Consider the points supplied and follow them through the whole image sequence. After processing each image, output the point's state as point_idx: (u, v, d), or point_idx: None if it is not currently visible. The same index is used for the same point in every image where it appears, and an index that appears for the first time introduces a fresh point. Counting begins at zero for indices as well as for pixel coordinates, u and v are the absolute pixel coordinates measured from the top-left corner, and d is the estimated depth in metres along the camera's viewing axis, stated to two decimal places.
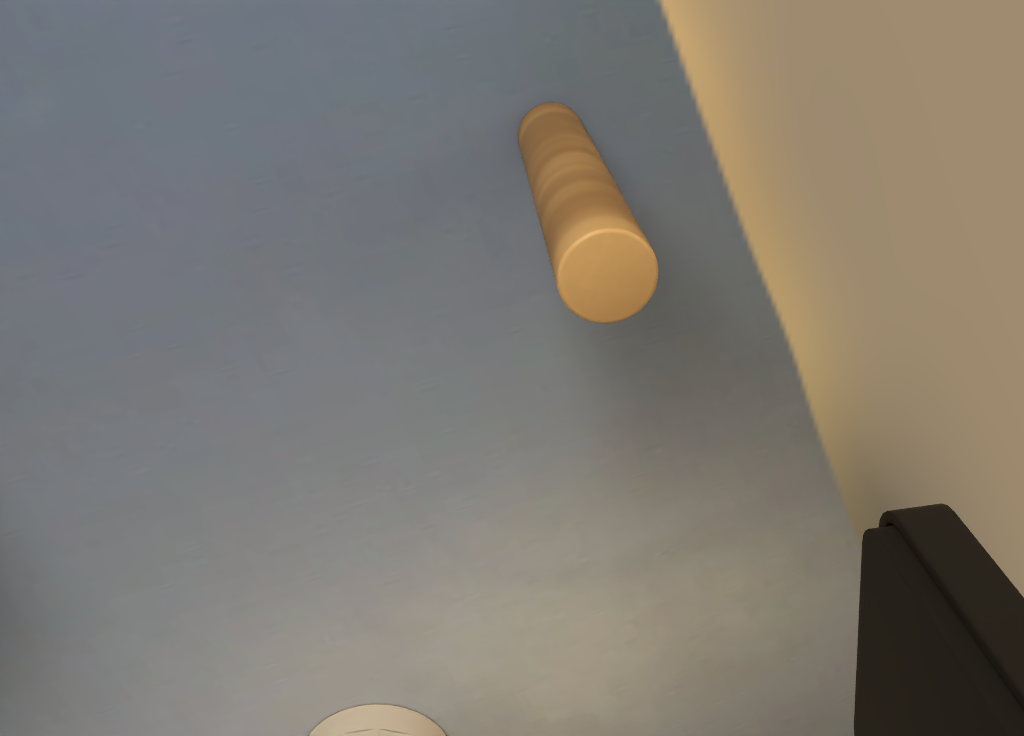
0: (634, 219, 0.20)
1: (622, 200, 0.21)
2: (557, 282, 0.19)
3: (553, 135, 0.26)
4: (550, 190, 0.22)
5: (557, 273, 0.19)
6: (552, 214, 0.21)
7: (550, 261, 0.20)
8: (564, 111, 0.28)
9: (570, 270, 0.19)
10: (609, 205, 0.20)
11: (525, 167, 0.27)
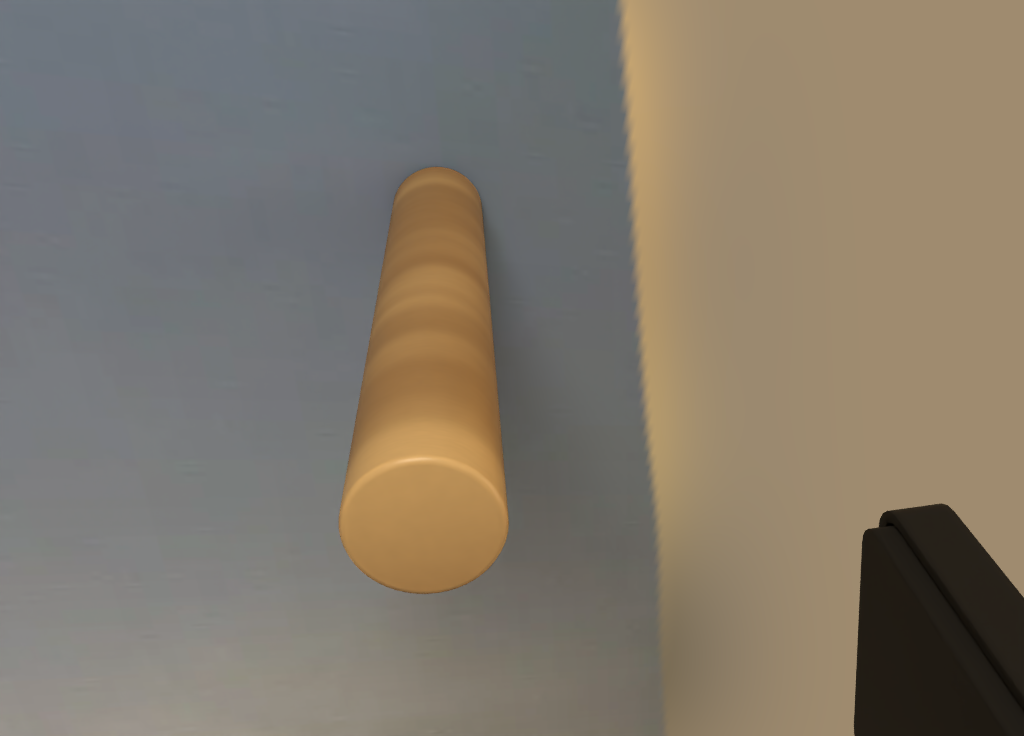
0: (496, 429, 0.13)
1: (489, 382, 0.14)
2: (340, 513, 0.11)
3: (432, 226, 0.18)
4: (392, 326, 0.14)
5: (343, 501, 0.11)
6: (377, 375, 0.13)
7: None
8: (462, 188, 0.21)
9: (365, 502, 0.11)
10: (465, 399, 0.12)
11: None
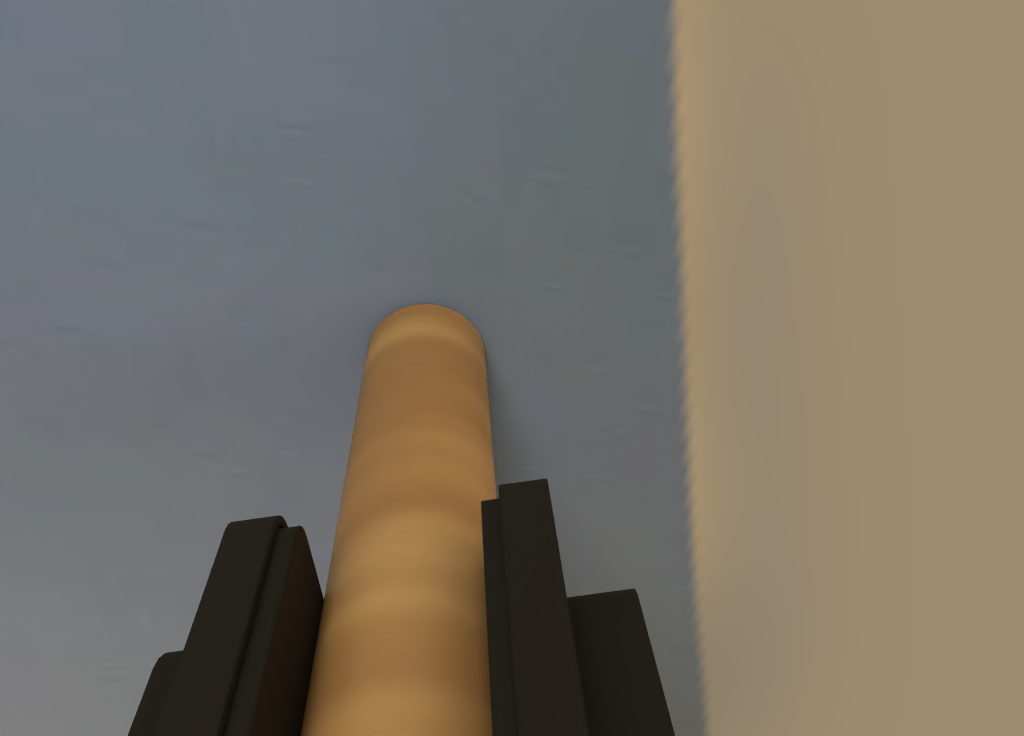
0: None
1: None
2: None
3: (416, 423, 0.13)
4: (346, 655, 0.09)
5: None
6: None
7: None
8: (459, 338, 0.15)
9: None
10: None
11: None
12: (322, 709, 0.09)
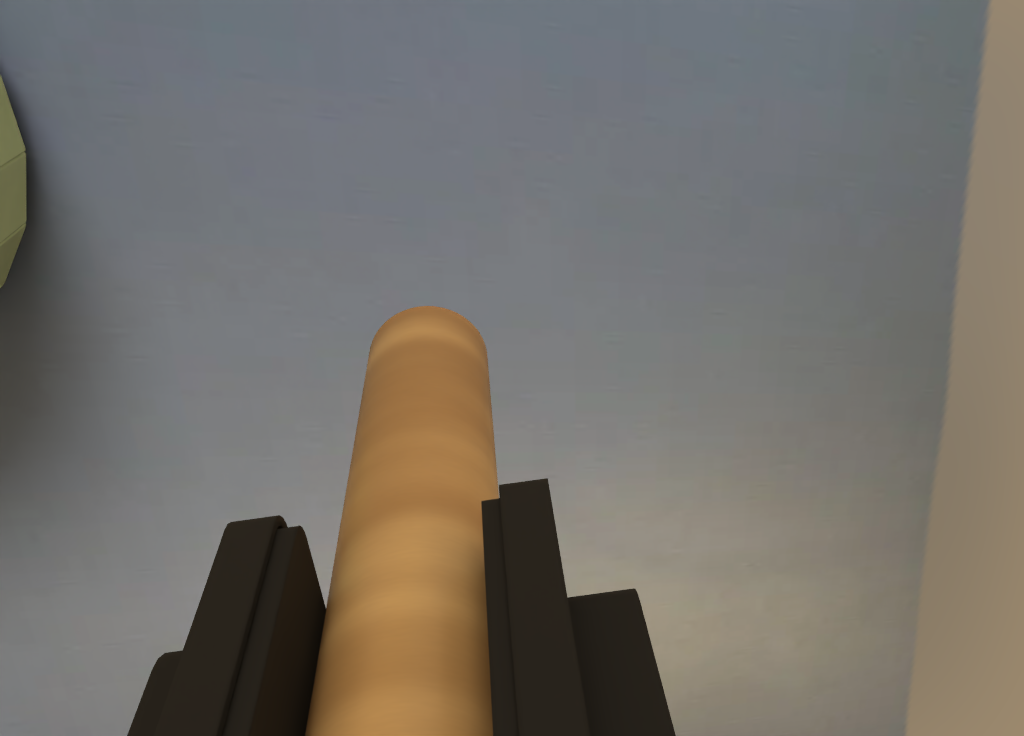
0: None
1: None
2: None
3: (418, 425, 0.13)
4: (350, 658, 0.09)
5: None
6: None
7: None
8: (461, 340, 0.15)
9: None
10: None
11: (353, 447, 0.14)
12: (326, 712, 0.09)
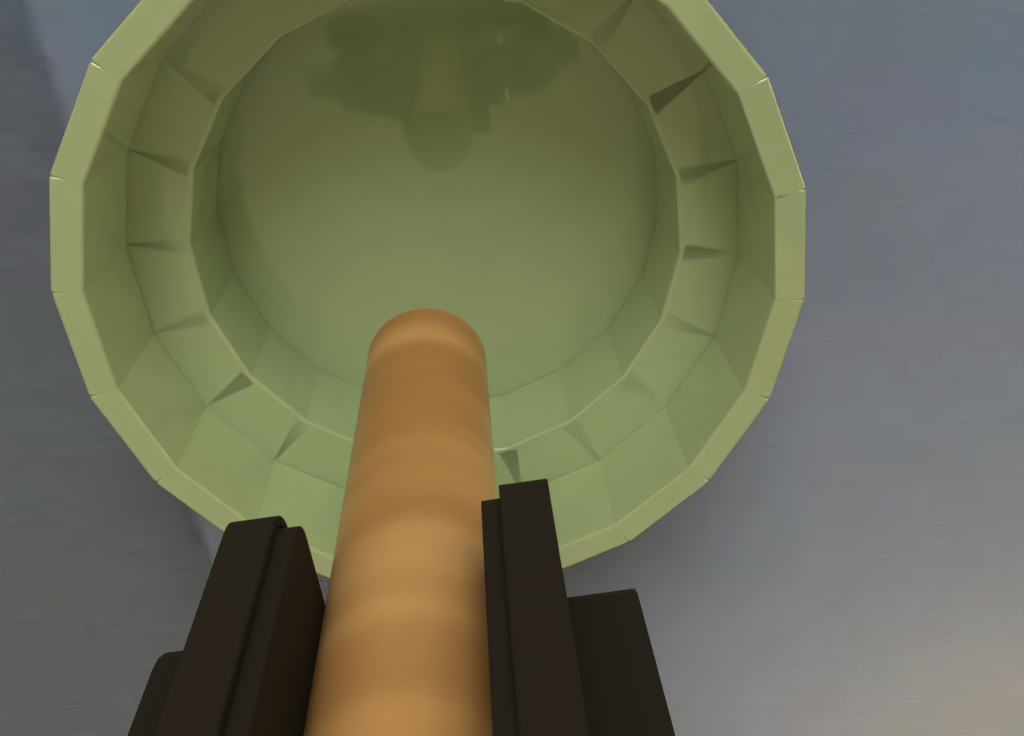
0: None
1: None
2: None
3: (417, 428, 0.13)
4: (348, 663, 0.09)
5: None
6: None
7: None
8: (459, 343, 0.15)
9: None
10: None
11: None
12: (323, 717, 0.09)
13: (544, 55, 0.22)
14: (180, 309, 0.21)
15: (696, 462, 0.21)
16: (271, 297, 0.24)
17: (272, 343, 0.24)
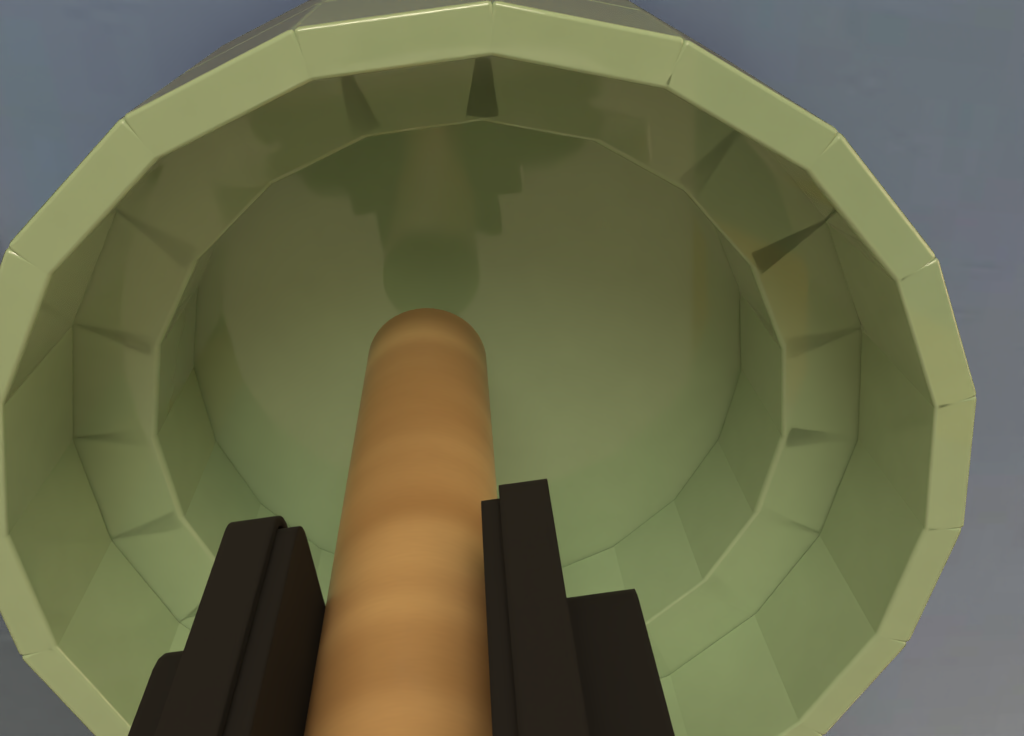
0: None
1: None
2: None
3: (417, 428, 0.13)
4: (348, 662, 0.09)
5: None
6: None
7: None
8: (460, 342, 0.15)
9: None
10: None
11: (352, 450, 0.14)
12: (324, 716, 0.09)
13: (607, 182, 0.17)
14: (145, 512, 0.17)
15: (809, 716, 0.16)
16: (262, 468, 0.20)
17: None
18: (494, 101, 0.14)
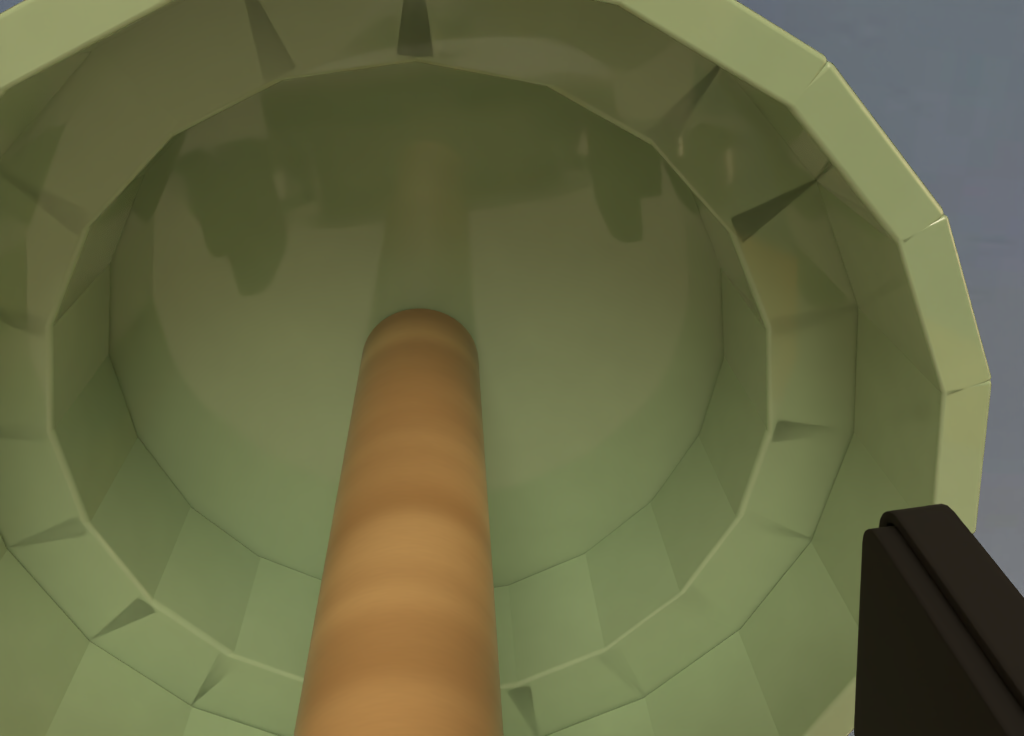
0: None
1: None
2: None
3: (409, 425, 0.13)
4: (339, 651, 0.09)
5: None
6: None
7: None
8: (452, 342, 0.16)
9: None
10: None
11: (345, 447, 0.14)
12: (316, 702, 0.09)
13: (570, 144, 0.15)
14: (44, 516, 0.15)
15: None
16: (191, 467, 0.18)
17: (192, 532, 0.17)
18: (429, 38, 0.12)
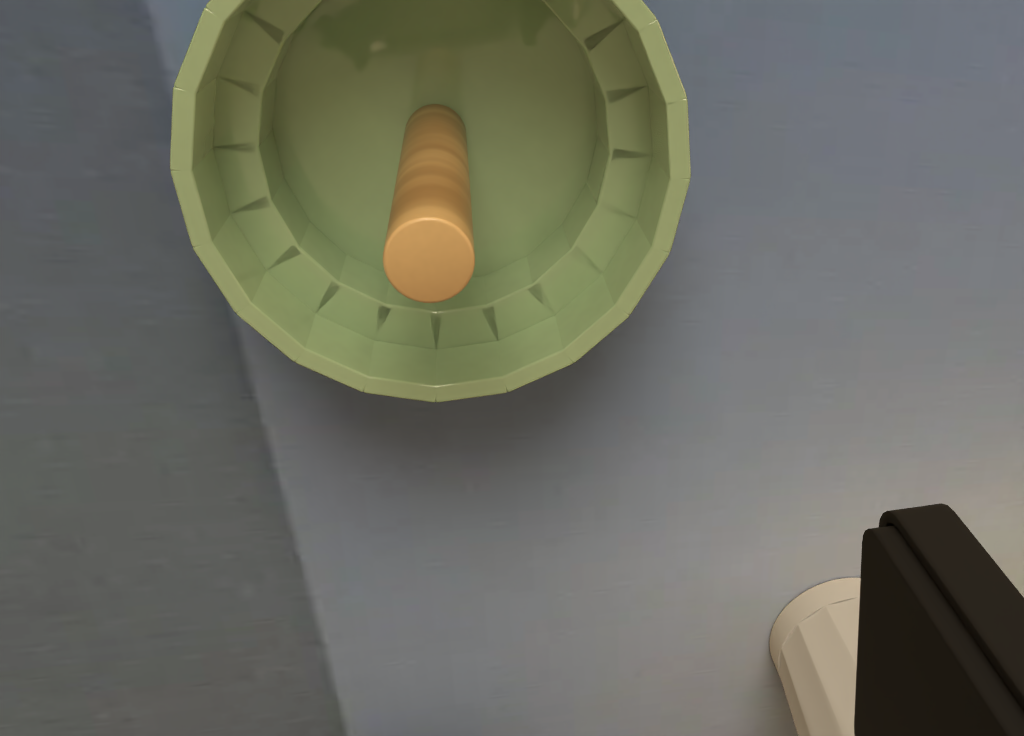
0: (469, 220, 0.22)
1: (466, 202, 0.23)
2: (383, 252, 0.21)
3: (432, 132, 0.28)
4: (408, 175, 0.24)
5: (385, 244, 0.21)
6: (401, 195, 0.23)
7: None
8: (452, 116, 0.31)
9: (397, 244, 0.21)
10: (451, 202, 0.22)
11: None
12: (400, 187, 0.24)
13: (512, 13, 0.30)
14: (250, 195, 0.30)
15: (620, 301, 0.29)
16: (311, 197, 0.33)
17: (312, 230, 0.32)
18: None
